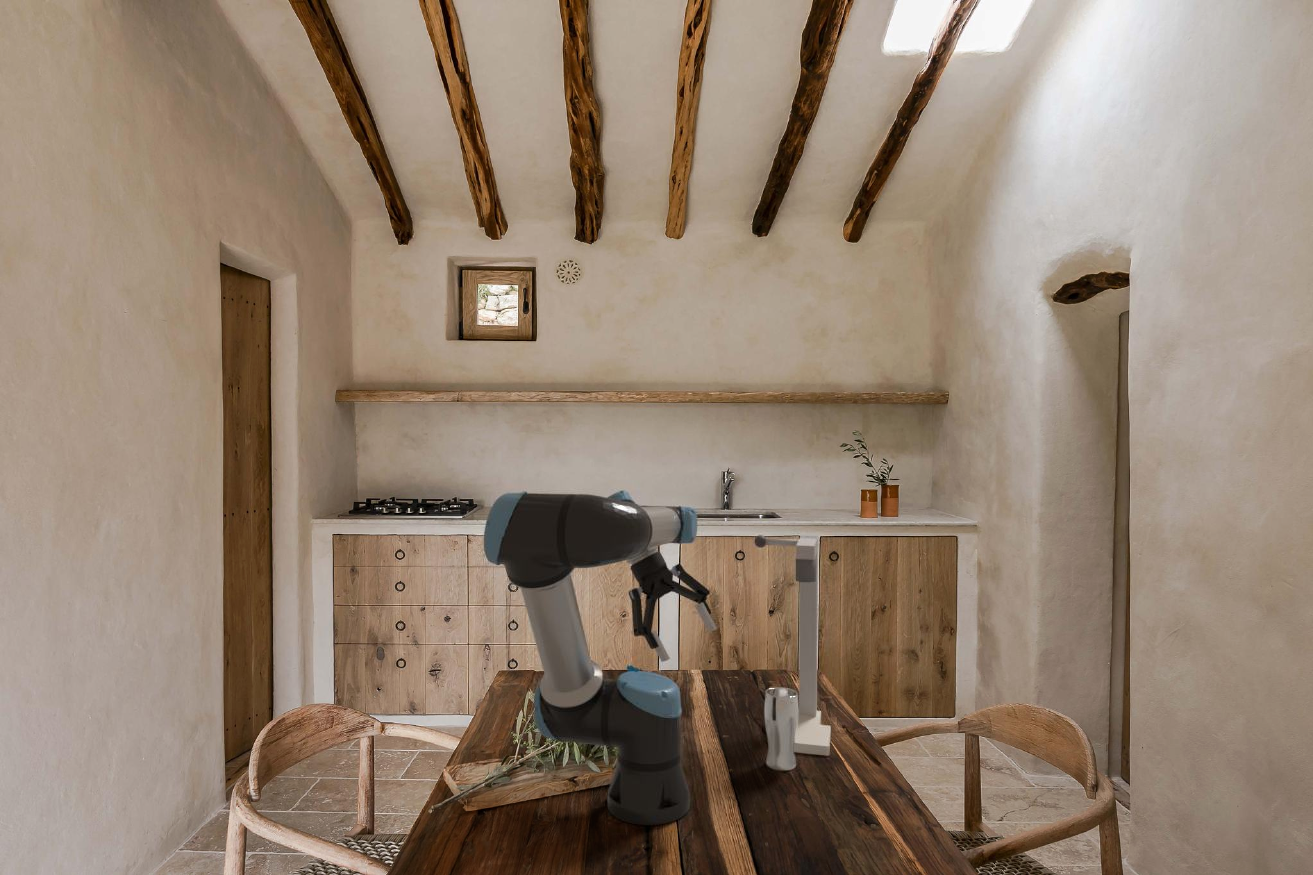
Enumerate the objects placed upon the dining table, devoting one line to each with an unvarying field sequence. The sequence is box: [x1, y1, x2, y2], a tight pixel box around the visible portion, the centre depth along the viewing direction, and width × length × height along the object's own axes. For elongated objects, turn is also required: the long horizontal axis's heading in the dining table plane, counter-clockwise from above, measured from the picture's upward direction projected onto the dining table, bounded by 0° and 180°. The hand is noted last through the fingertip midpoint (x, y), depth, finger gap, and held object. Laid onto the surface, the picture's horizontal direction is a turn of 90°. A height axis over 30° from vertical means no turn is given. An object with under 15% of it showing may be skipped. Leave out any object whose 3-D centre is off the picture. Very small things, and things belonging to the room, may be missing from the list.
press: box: [753, 534, 832, 757], centre depth 175 cm, size 21×18×44 cm
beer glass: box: [763, 686, 799, 772], centre depth 159 cm, size 7×7×15 cm
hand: (689, 645), depth 166 cm, fingers open, 13 cm apart
